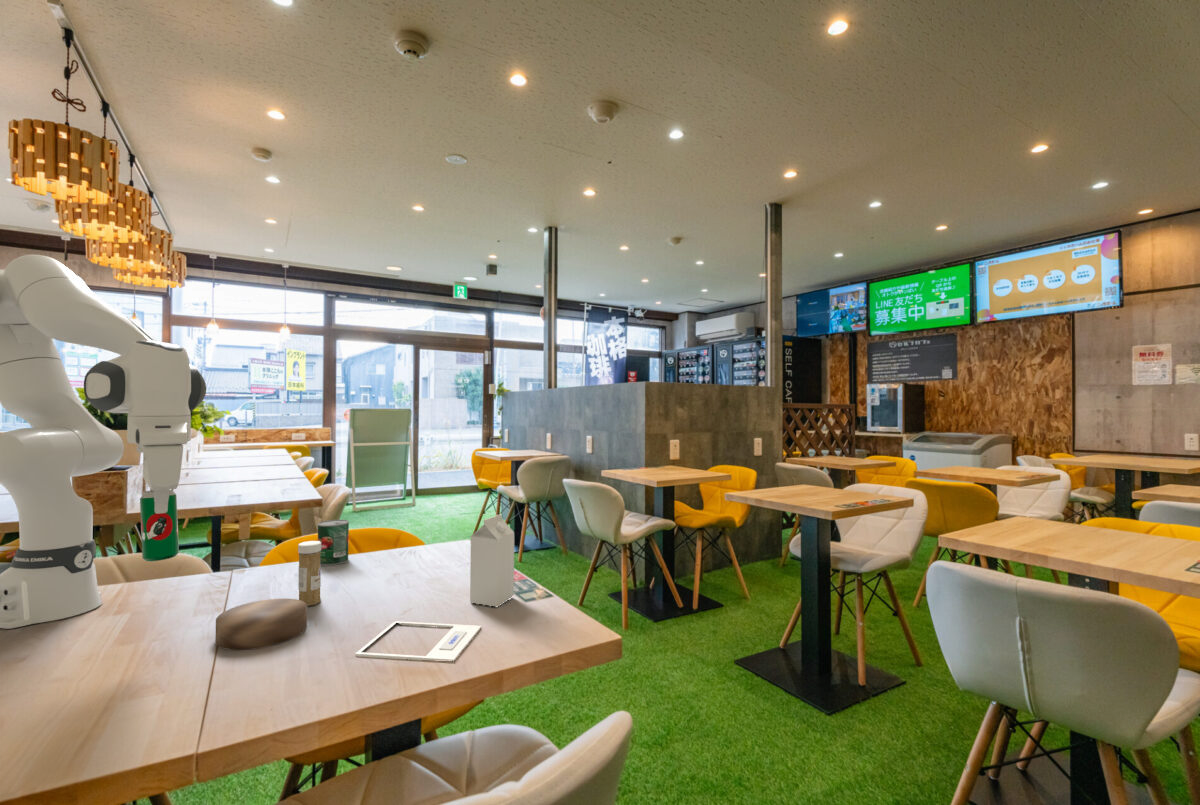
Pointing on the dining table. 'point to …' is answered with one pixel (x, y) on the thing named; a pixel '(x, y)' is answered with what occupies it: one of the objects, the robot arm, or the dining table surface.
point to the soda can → (158, 528)
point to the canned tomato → (333, 541)
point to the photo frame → (443, 650)
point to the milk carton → (492, 563)
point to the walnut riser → (261, 624)
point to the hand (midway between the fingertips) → (159, 510)
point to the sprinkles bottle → (309, 572)
